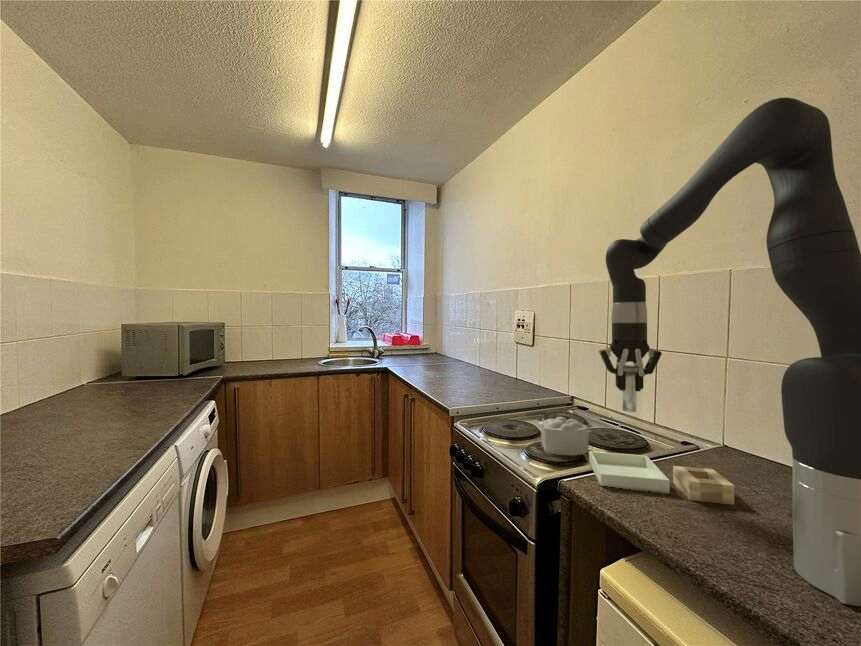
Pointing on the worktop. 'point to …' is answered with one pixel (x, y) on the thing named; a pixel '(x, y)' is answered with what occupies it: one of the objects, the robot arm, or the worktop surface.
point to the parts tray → (628, 472)
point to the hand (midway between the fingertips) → (629, 390)
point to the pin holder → (703, 485)
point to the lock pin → (629, 388)
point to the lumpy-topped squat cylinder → (564, 436)
